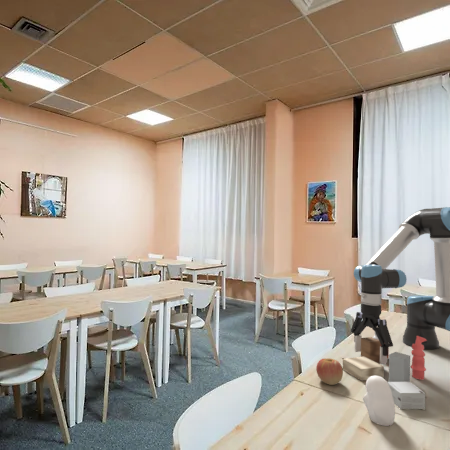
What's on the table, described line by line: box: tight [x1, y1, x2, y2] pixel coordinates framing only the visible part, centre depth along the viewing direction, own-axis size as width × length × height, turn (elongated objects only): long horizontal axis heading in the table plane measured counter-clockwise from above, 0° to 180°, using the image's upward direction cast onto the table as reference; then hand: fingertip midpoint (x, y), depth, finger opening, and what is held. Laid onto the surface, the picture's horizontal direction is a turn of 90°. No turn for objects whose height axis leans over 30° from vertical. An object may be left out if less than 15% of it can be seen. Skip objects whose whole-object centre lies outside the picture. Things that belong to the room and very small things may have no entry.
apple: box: [316, 358, 344, 386], centre depth 116 cm, size 9×9×8 cm
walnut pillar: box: [360, 336, 381, 365], centre depth 133 cm, size 5×5×10 cm
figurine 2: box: [410, 336, 427, 381], centre depth 123 cm, size 5×5×15 cm
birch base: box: [342, 356, 385, 381], centre depth 125 cm, size 10×10×4 cm
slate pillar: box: [388, 351, 411, 382], centre depth 116 cm, size 5×5×10 cm
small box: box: [387, 381, 426, 410], centre depth 103 cm, size 8×8×5 cm
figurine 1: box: [362, 375, 396, 427], centre depth 93 cm, size 7×8×12 cm
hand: (370, 357), depth 133 cm, fingers open, 13 cm apart
